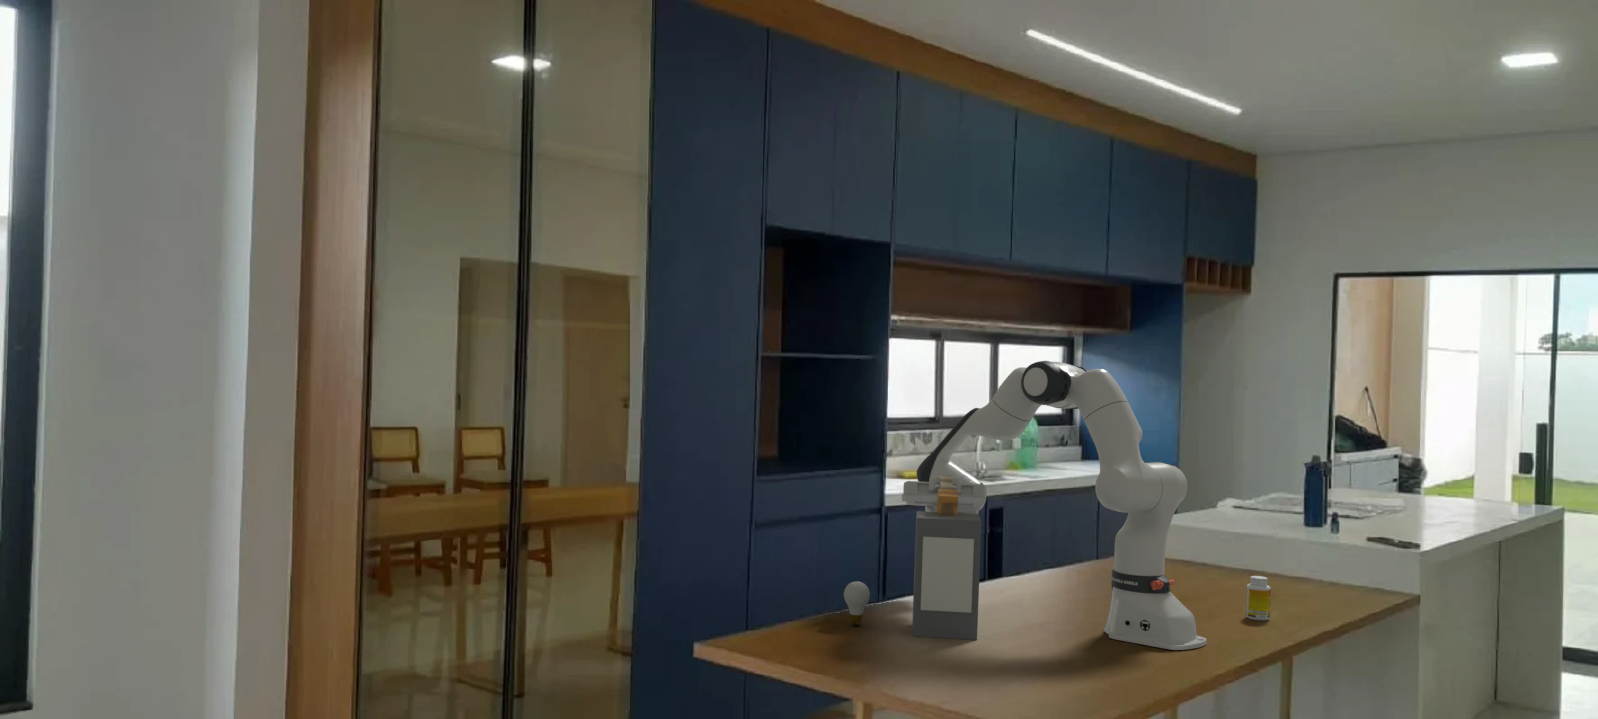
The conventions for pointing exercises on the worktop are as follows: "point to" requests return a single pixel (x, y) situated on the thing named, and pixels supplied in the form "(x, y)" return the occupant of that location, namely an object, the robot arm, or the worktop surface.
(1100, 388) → the robot arm
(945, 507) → the bar
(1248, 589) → the supplement bottle
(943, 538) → the cabinet
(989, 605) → the worktop surface
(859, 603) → the light bulb
